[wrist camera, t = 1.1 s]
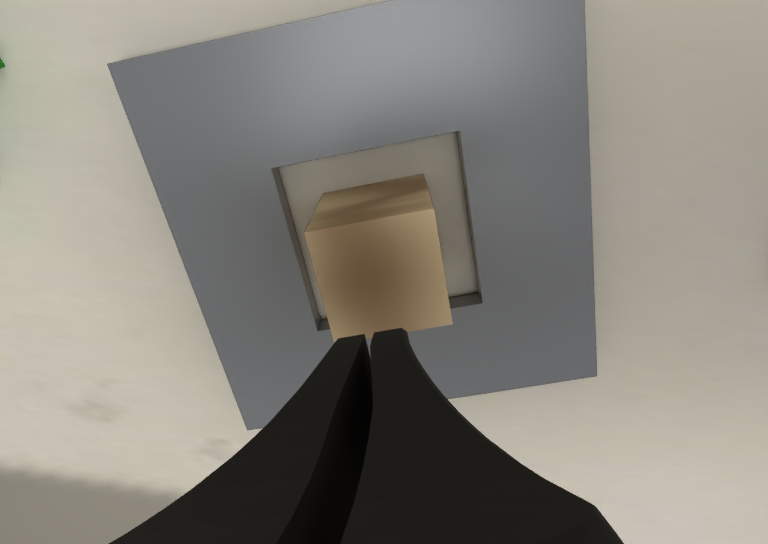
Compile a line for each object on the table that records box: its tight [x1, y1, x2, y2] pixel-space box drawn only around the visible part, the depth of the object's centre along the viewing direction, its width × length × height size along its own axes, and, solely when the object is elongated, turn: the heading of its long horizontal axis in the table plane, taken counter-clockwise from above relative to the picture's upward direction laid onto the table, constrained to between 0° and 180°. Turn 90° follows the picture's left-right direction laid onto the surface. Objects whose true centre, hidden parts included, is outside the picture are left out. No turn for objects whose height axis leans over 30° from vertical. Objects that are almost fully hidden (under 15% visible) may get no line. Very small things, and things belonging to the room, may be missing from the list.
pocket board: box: [107, 0, 597, 430], centre depth 20 cm, size 16×16×1 cm
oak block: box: [304, 174, 453, 343], centre depth 18 cm, size 4×4×5 cm
